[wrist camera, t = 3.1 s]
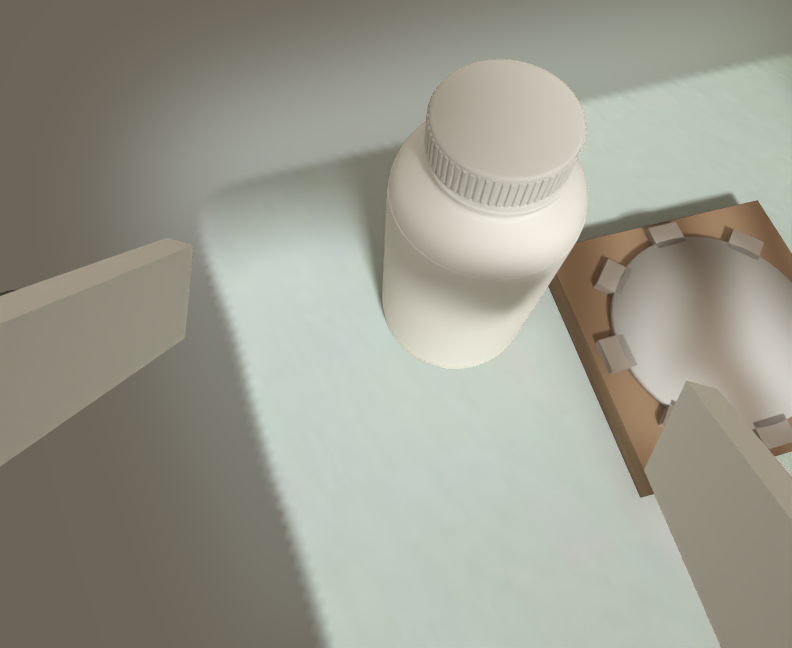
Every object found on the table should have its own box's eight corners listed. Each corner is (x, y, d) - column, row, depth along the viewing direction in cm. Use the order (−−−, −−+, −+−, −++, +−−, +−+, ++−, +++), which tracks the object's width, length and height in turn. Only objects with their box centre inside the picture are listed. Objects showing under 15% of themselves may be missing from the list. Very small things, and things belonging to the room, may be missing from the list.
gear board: (742, 214, 36) (762, 195, 34) (873, 425, 30) (905, 416, 28) (538, 262, 33) (548, 244, 32) (640, 497, 28) (659, 492, 26)
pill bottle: (363, 350, 31) (357, 175, 17) (404, 232, 34) (427, 4, 20) (504, 392, 30) (615, 244, 16) (531, 268, 33) (644, 57, 20)
